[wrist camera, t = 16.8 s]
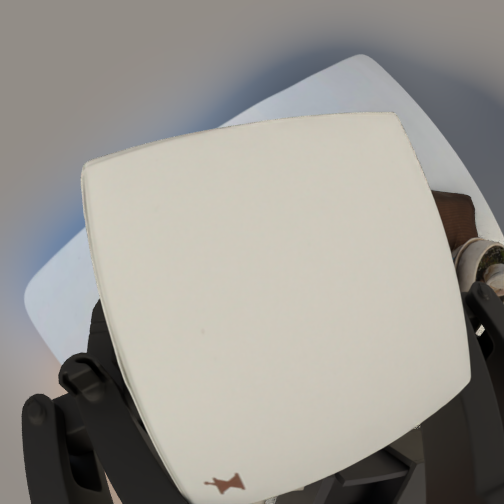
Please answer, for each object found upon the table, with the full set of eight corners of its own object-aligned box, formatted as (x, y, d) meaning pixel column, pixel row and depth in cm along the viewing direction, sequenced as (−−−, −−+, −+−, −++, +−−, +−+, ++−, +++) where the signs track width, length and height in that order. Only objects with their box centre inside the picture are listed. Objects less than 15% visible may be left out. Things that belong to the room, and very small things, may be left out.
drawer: (233, 509, 22) (241, 552, 15) (254, 438, 25) (271, 478, 17) (364, 502, 25) (391, 530, 17) (393, 437, 27) (431, 460, 19)
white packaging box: (312, 338, 17) (477, 389, 5) (197, 374, 16) (185, 525, 3) (280, 225, 18) (402, 106, 6) (162, 255, 17) (67, 159, 4)
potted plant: (472, 314, 35) (582, 359, 10) (373, 335, 37) (470, 435, 12) (468, 190, 34) (587, 160, 10) (365, 192, 36) (482, 129, 11)
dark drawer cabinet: (340, 505, 25) (371, 544, 16) (371, 433, 27) (417, 464, 18) (415, 489, 27) (450, 513, 17) (443, 423, 29) (487, 440, 20)
